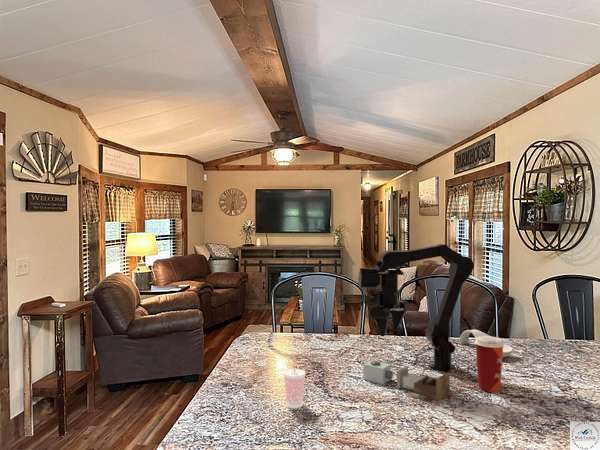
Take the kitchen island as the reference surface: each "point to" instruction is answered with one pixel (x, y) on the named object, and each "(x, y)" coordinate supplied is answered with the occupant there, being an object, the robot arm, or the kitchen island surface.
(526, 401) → the kitchen island surface
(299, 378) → the beverage cup
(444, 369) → the robot arm
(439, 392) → the housing
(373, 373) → the block with dome knob
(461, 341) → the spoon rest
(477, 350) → the coffee cup
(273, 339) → the kitchen island surface
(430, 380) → the metal-capped square post
